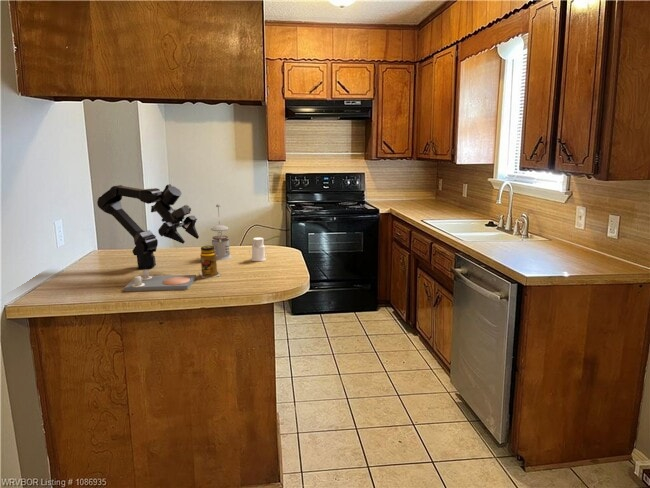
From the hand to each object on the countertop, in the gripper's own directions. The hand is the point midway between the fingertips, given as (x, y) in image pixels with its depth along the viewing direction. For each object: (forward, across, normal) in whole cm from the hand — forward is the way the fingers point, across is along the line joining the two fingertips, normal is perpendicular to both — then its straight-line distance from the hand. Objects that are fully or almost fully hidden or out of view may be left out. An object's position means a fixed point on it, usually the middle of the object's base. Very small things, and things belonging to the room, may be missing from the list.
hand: (191, 240), depth 195 cm
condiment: (+16, 0, +4) cm, 16 cm away
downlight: (+21, +27, -1) cm, 34 cm away
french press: (+7, +26, +13) cm, 30 cm away
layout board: (+8, -18, +11) cm, 22 cm away
